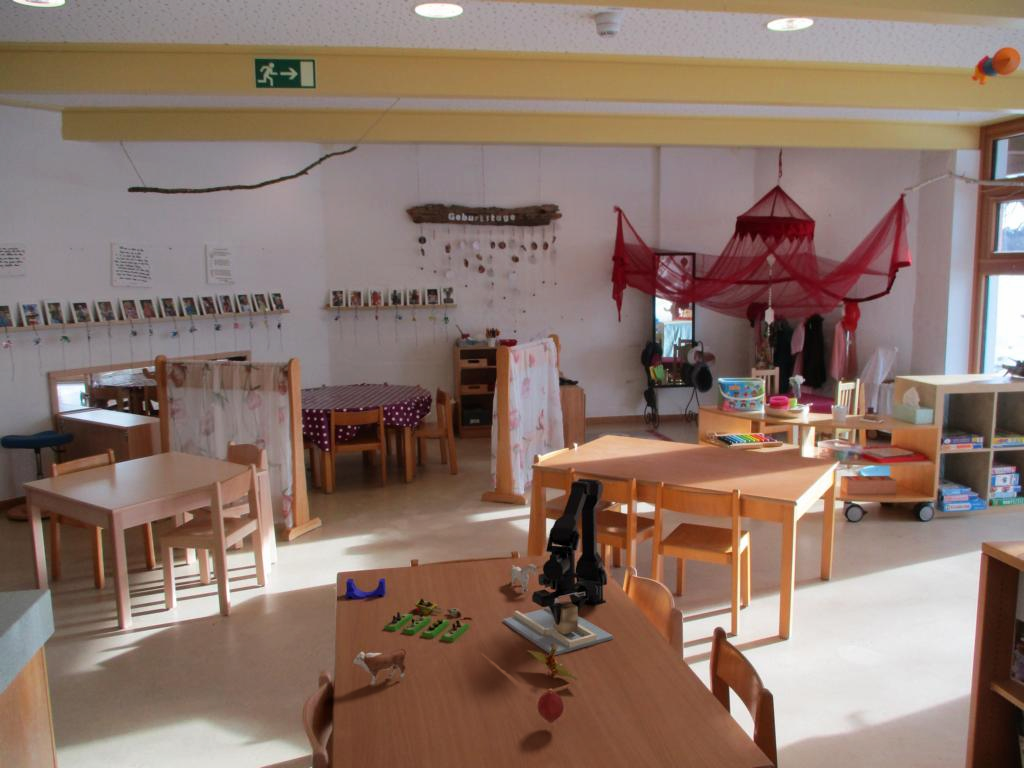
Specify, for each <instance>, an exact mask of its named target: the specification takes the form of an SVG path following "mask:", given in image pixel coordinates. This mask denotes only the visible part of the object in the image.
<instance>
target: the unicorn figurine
mask: <svg viewBox="0 0 1024 768" xmlns="http://www.w3.org/2000/svg"><path fill="white" fill-rule="evenodd" d="M543 566H544V564H542V565H538V566H536V565H535V563H534V564H533V563H531V564H525V565H524V566H523V567H522V568H521V567H520V566H515V565H514V564H513V565H512V566H510V569H509V570H510V576H511V584H510V585H511V586H512V587H514V586H515V582H517V581H519V584H520V587H521V589H520V594H524V593H525V592H528V591H529V589H528V585H529V584H528V583H529V579H530V576H529V573H530V572H531V573H532V575H533V576H537V575H538V572H537V570H538V569H540V568H543Z"/></svg>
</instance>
